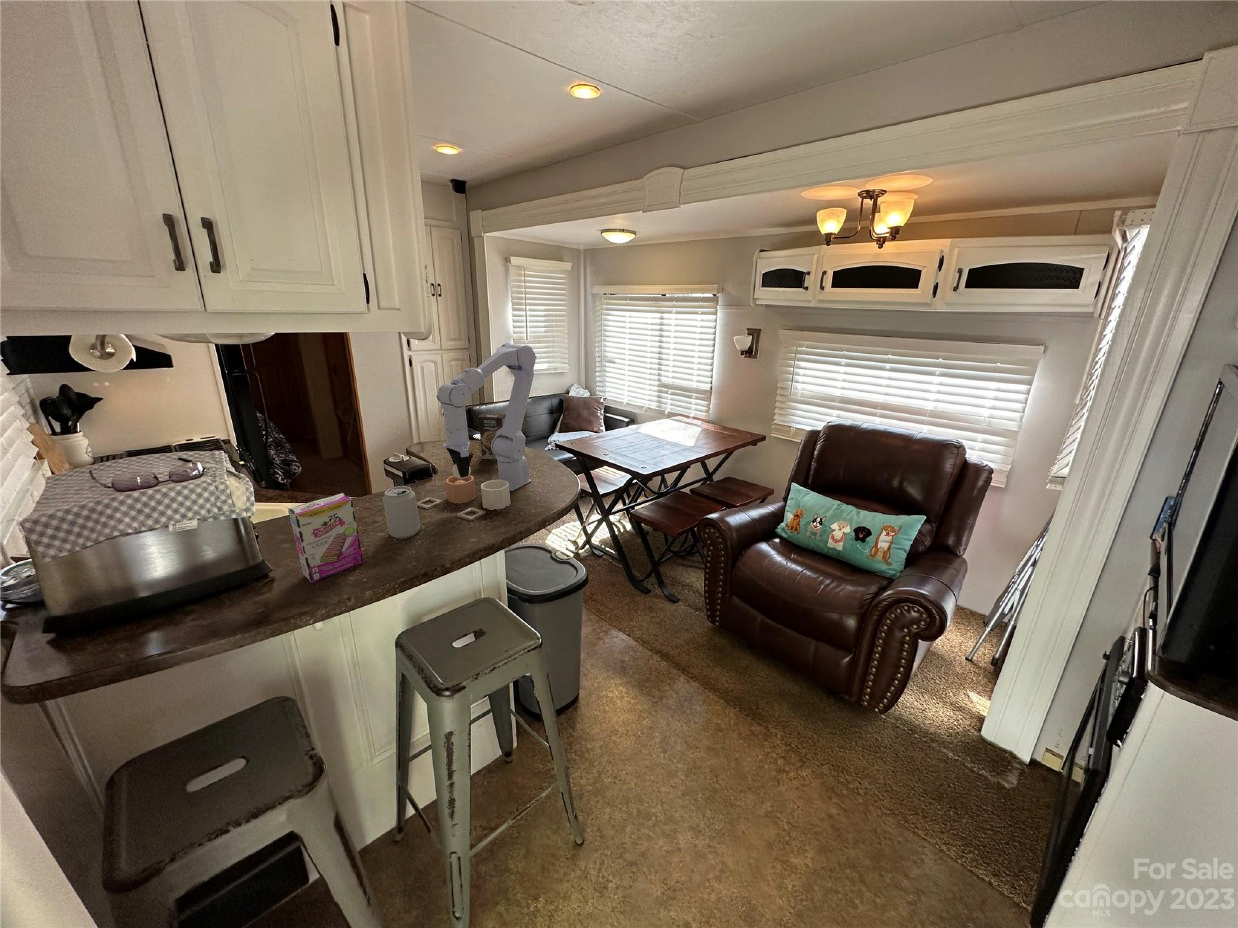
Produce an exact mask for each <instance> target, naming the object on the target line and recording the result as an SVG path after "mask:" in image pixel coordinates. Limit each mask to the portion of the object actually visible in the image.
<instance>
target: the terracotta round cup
mask: <svg viewBox="0 0 1238 928" xmlns="http://www.w3.org/2000/svg"><path fill="white" fill-rule="evenodd" d="M458 480H463V481H465V483H458V484H453V483H454V482H456V481H458ZM445 487H446V494H447V502H449V503H453V504H456V503H457V504H464V503H466V504H467V503H469V502H471V501H473V500H475V499H476V488H475V487H476V486H475V477H474V475H471V474H470V475H469V476H468V477H467V478H465V479H458V478H456V477H455V476H454V475H452V476H449V477H447V478H446V481H445Z"/></svg>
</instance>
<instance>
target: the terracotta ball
mask: <svg viewBox="0 0 1238 928" xmlns="http://www.w3.org/2000/svg"><path fill="white" fill-rule="evenodd" d="M458 483H465V481H463V480H458V481H456V482H454V483H453V484H458Z"/></svg>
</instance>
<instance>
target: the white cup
mask: <svg viewBox="0 0 1238 928" xmlns="http://www.w3.org/2000/svg"><path fill="white" fill-rule="evenodd" d="M480 491H481V492H480V493H481V502H482V508H483V509H486V508H487V510H491V511H494V509H496V510H503V509H505V508H507V507H509V506H511V504H512V503H511V495H510V490H509V482H508V481H504V480H499V479H492V480H487V481H485V482H483V483H481V484H480ZM506 506H507V507H506Z"/></svg>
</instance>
